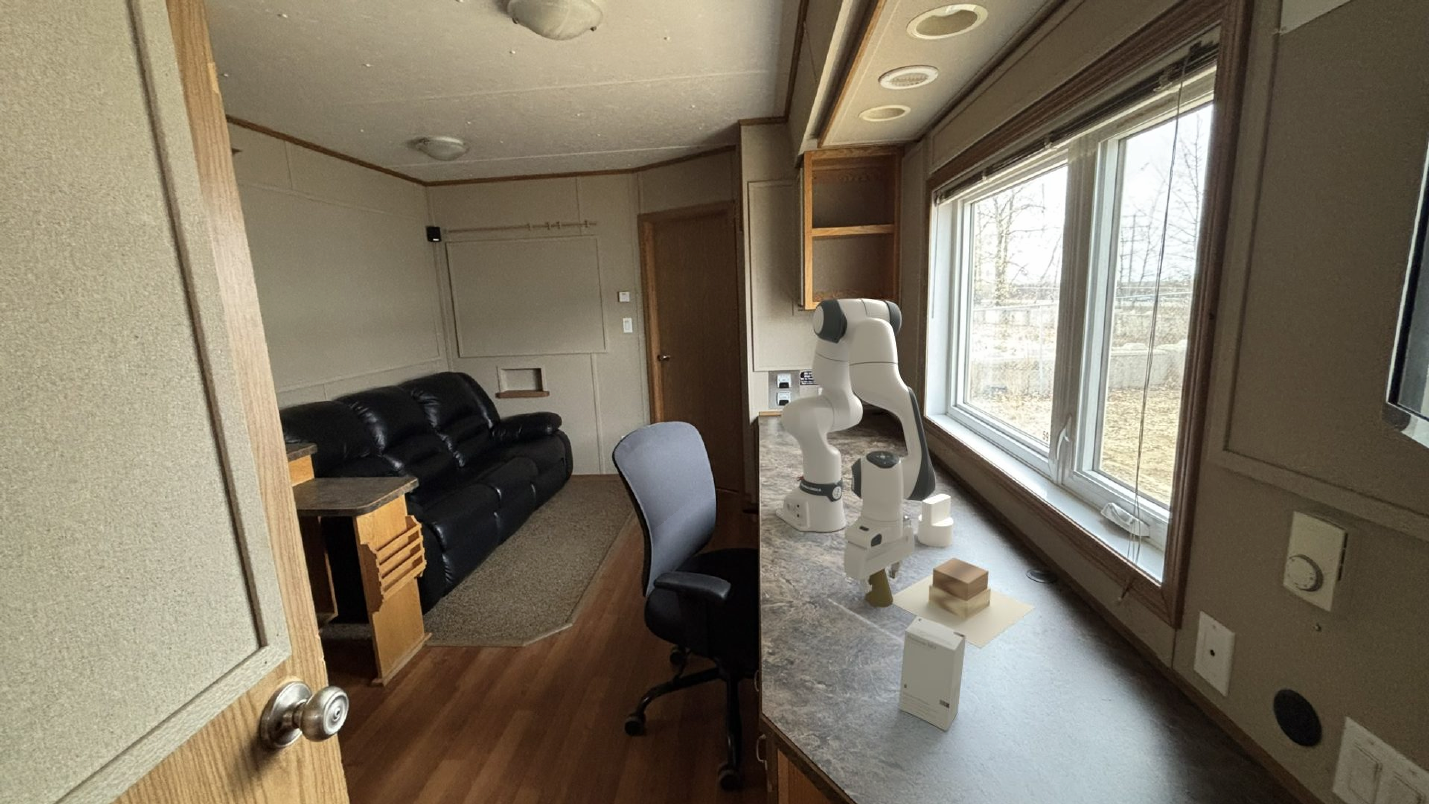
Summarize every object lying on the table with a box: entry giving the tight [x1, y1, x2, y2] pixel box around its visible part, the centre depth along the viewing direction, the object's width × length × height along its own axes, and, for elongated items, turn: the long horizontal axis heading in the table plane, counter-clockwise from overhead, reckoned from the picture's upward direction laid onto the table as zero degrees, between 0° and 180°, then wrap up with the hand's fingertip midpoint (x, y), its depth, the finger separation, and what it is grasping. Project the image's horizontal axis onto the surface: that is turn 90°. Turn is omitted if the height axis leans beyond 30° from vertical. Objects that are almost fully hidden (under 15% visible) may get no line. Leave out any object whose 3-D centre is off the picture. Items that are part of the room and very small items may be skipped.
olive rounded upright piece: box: [864, 568, 893, 608], centre depth 123 cm, size 6×6×11 cm
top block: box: [932, 557, 990, 601], centre depth 120 cm, size 8×8×4 cm
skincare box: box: [898, 615, 967, 732], centre depth 91 cm, size 8×6×15 cm
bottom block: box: [928, 584, 992, 620], centre depth 121 cm, size 9×9×4 cm
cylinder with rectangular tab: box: [917, 493, 954, 548], centre depth 152 cm, size 9×9×12 cm
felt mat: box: [891, 573, 1036, 649], centre depth 122 cm, size 22×22×1 cm
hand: (880, 584), depth 124 cm, fingers open, 8 cm apart
